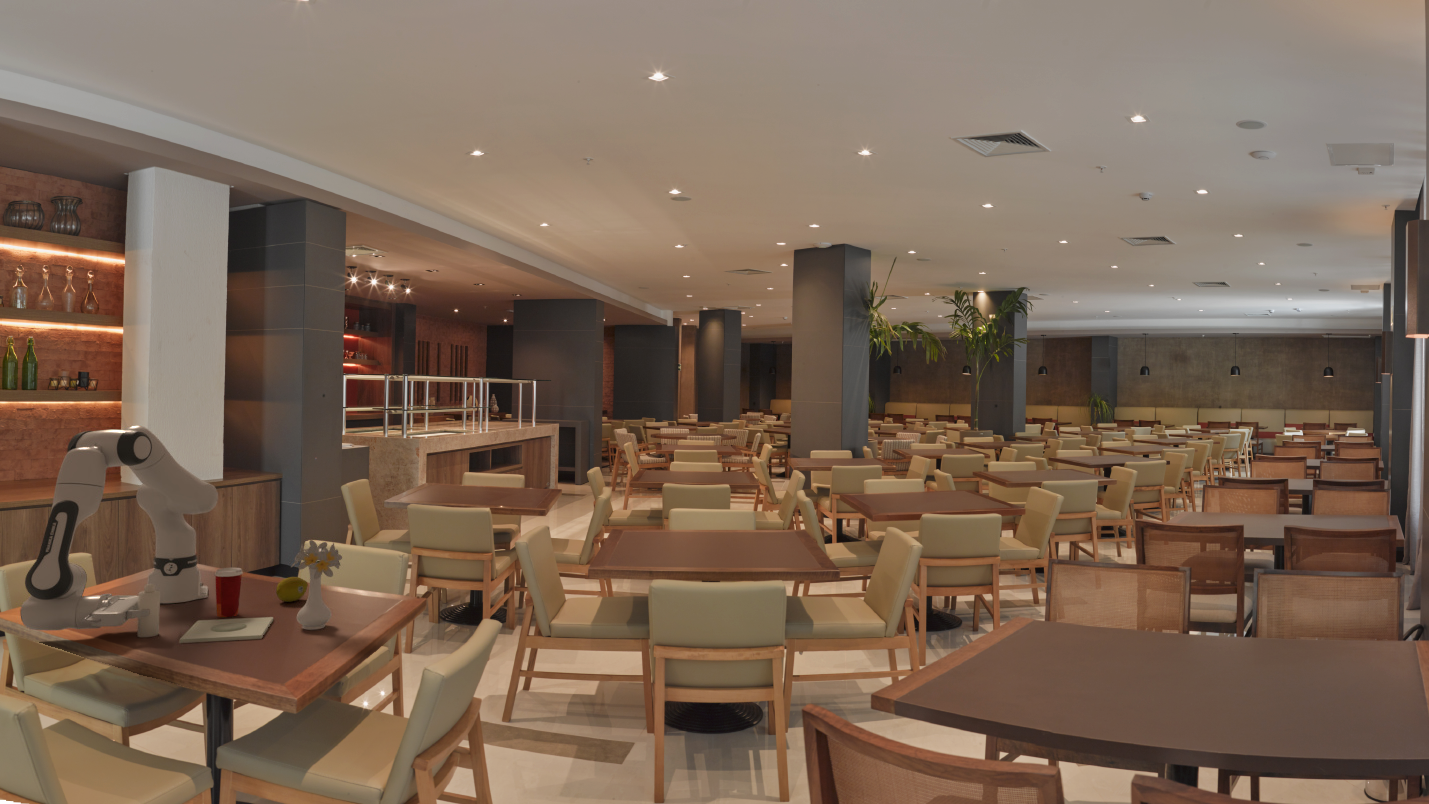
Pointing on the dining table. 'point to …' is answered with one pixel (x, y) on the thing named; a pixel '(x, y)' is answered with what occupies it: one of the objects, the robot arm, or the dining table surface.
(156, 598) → the cream bottle
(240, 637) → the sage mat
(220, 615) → the paper cup
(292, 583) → the lemon
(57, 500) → the robot arm
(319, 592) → the flower vase
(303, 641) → the dining table surface
